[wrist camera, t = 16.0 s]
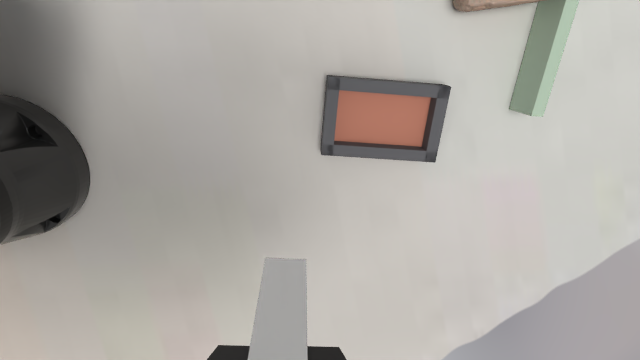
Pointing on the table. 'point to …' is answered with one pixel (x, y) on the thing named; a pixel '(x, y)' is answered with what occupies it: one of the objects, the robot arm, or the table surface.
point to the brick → (486, 4)
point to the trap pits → (383, 118)
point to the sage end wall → (543, 55)
